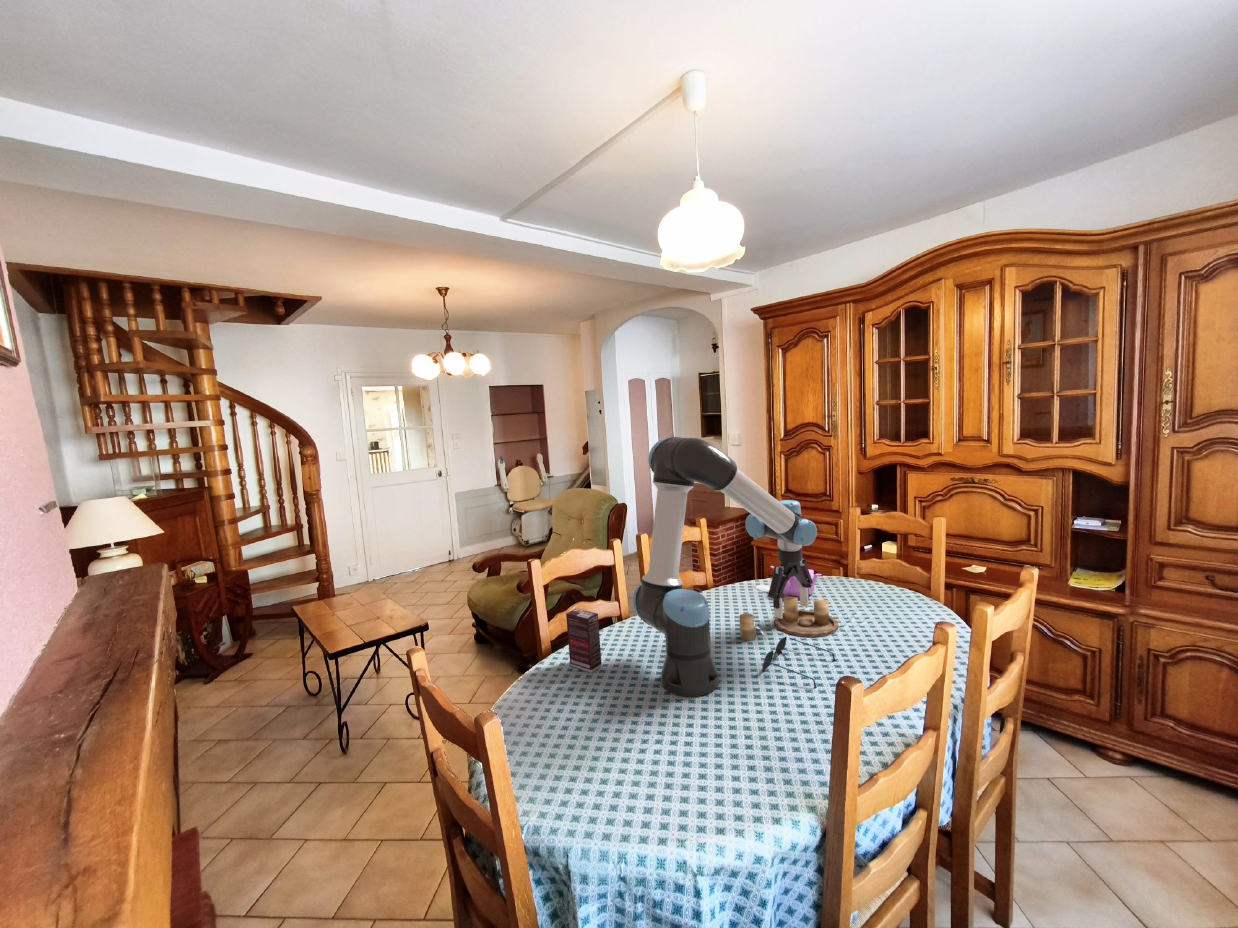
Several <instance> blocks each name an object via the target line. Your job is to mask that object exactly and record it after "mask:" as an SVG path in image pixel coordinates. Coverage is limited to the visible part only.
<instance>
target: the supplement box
mask: <svg viewBox="0 0 1238 928" xmlns="http://www.w3.org/2000/svg"><path fill="white" fill-rule="evenodd" d="M565 616H566V626H567V628H566V629H567V640H568V641H567V643H568V654H569V655H568V656H569V665H570V667H573V668H576V669H579V670H582V671H585V672H588V673H590V674H592V673H594V672H595V671H597V670H599V669H600V668H601V667H602V666H603V664H602V651H601V638H600V626H599V625H600V624H599V613H598V612H593V611H588V610H585V609H581V608H574V609H572V610H570V611H568V612H566V613H565Z"/></svg>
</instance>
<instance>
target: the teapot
mask: <svg viewBox="0 0 1238 928" xmlns="http://www.w3.org/2000/svg"><path fill="white" fill-rule="evenodd" d="M774 567H775V566H773V565H770V568H771V569H773V570H774ZM808 570H809V573H810V575H811V578H812V581H813V583H812V584H811V585H812V587H811V588H809V587H808V590H809V591H808V593H809V595H811V594H812V593H813V592H814V591H815V585H816V584H817V583H816V582H817V579H818V578H819V577H820V576H823V575H822V574H821V573H815V574H814V569H809V568H808ZM783 576H784V574H783ZM800 586H802V585H801V584H800V582H799V581H798V580H797V578H796V577H795V576H793V577H791V578H790V580H788V581H787V583H786V586H785V588H784V590H783V593H782V597H783V598H785V597H790V596H792V597H796V598H797V599H798V601H800Z"/></svg>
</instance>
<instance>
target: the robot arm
mask: <svg viewBox="0 0 1238 928" xmlns="http://www.w3.org/2000/svg"><path fill="white" fill-rule="evenodd" d="M647 461H648V466H649V468H650V469H651V471H652V473H653V479H652V483H653V485H654V486H655V487H656V489H657V490H656V499H655V500H656V501H655V509H654V518H653V525H652V527H653V528H652V536H651V544H650V545H651V546H650V554H649V563H648V571H647V573H645V574H644V575H643V576H642V579H641V582H640V583H639V585H638V586H637V587H636V588H635V590H634V592H633V596H632V605H633V609H634V612H635V614H636V615H637V616H638V617H639V618H640V620H642V621H643V622H644V623H645V624H647V625H649V626H651V627H653V628H654V629H655V630H656V631H658V632H660V633H662V634H663V635H664V636H665V637H664V638H665V652H666V653H665V657H664V661H663V665H662V668H661V673H660V679H661V680H660V681H661V686H662V687H663V688H664V689H665V690H666V691H667V692H669V693H671V694H674V695H677V696H682V697H700V696H704V695H707V694H710V693H712V692H714V691H715V690H716V689H717V688H718V686H719V683H720V681H719V680H720V679H719V678H720V677H719V671H718V669H717V666H716V662H715V661H714V658H713V656H712V650H711V629H710V625H711V624H710V616H711V613H710V610H709V609H710V607H709V604H708V603H709V602H708V600H707V598H706V597H705V596H704V595H703V594H702V593H700V592H698V591H696V590H693V589H691V590H689V589H688V588H687V589H686V588H683V586H684V585H683V583H684V581H683V580H682V579H681V578H680V575H679V572H680V563H681V553H682V547H683V538H684V537H683V535H684V529H685V528H684V527H685V519H686V509H687V501H688V493H689V492H690V491H692V489H693V488H694V486H695V483H697V484H702V485H704V486H706V487H708V488H709V489H710V490H712V491H713V492H721V493H722V494H724V495H725V496H726V497H728V498H729V499H730V500H732V501H733V502H735V503H736V504H738V505H739V506H741V508H743V509H744V510H745V511H747V512H748V513H749V515H747V516H746V519H745V522H744V523H745V530H746V532H747V533H748V535H749V536H750V537H752V538H762V537H768V538H772V539H776V540H777V547H778V549H777V559H778V561H779V562H780V566H776V565H775V566H774V569H773V575H772V578H771V583H770V585H769V586H770V587H769V590H768V594H767V597H768V598H772V601H773V602H772V604H773V610H774V611H773V615H774V618H775V617H777V618H780V619H782V618H783V612H784V605H783V598H782V596H783V594H782V593H783V590H784V588H785V586H786V583H787V581H788V580H790V578H791V577H793V576H795V577H796V578H797V580H798V581H799V582H800V584H801V585H802V586H800V600H799V604H800V605H799V606H801V607H805V608H809V607H810V605H809V603H810V602H809V595H810V594H809V593H808V591H809V590H808V587H809V588H811V587H812V585H811V584H812V583H813V581H812V578H811V575H810V573H809V570H808V569H809V568H808V566H807V559H805V558H803V549H802V547H806V546H810V545H813V544H814V542H815V540H816V538H817V535H818V529H817V525H816V524H815V523H814V522H813V521H811V520H810V519H807V518H802V515H803V514H802V510H801V508H802V507H801V504H800V503H801V502H799V501H798V500H793V499H792V500H791V499H790V500H789V499H786V500H785V499H784V500H783V499H782V500H778V499H776V498H775V497H774V496H772V495H771V494H770V493H769V492H767V490H765V489H764V488H762V487H761V486H760V485H759V484H758V483H756V481H755V482H754V480H752V479H751V478H750V477H749V476H747V475H746V474H745V473H743V471H741V470H740V469H739V466H738V464H737V462H736V461H735V460H734V459H732V458H731V457H730V456H729V455H727V454H725V452H723V451H722V450H721V449H720V448H718V447H716V446H715V445H713V444H712V443H710V442H708V441H706V440H705V439H701V438H698V437H680V436H679V437H678V436H670V437H665V438H661V439H659V440H658V441H657V442H656V443H655V444H653V446H652V447H651V449H650V452H649V454H648V460H647ZM783 574H784V576H783Z"/></svg>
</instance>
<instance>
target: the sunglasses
mask: <svg viewBox="0 0 1238 928" xmlns="http://www.w3.org/2000/svg"><path fill="white" fill-rule="evenodd" d="M787 638H788V639H790V640H793V641H795V642H798V643H801V644H804V645H806V646H809V647H812V648H815V649H819V650H821V651H824V652H827V653H830V654H832V661H833V660H834V662H836V657H835V655H834V652H832V651H831V650H827V649H824V648H821V647H819V646H816V645H813V644H811V643H807V642H804V641H800V640H797V639H794V638H791V637H789V636H788V637H787V636H783V637H782V638H781V639H780V640H779V641H778V642H777V645H776V647H775V651H774V650H773V649H771V650H770V651H768V652H767V654H766V655H765V657H764V660H763V663H762V671H763V672H766V671H767V669H768V668H769V666H770V665H772V666H773V665H774V666H776V667H779V668H781V669H783V670H786V671H789V672H792V673H795V674H796V675H800V676H802V677H805V678H807V679H810V680H812V682H813V687H814V689H816V688H818V687H817V683H816V680H815V678H813V677H810V676H808V675H806V674H803V673H801V672H797V671H795V670H793V669H791V668H787V667H785V666H782V665H779V664H776V663H773V660H775V659H776V658H778V657H779V656H780V655H781V654H782V653H783V651H782V650H784V649H785V648H786V643H787Z"/></svg>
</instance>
